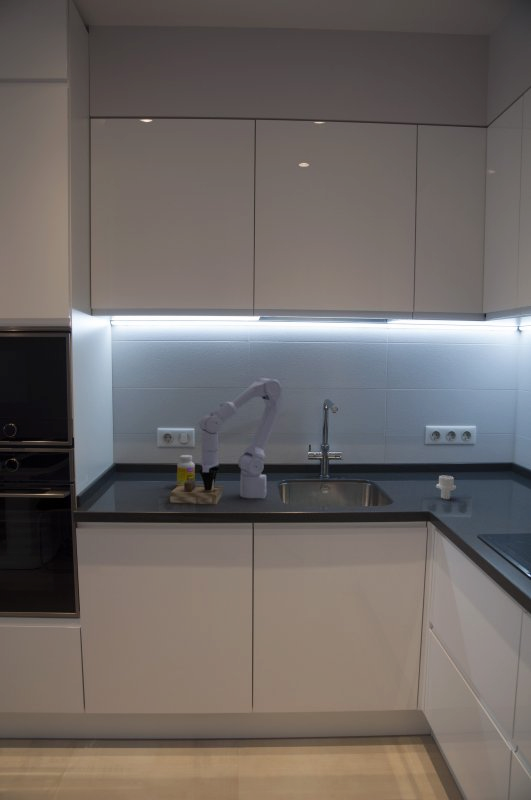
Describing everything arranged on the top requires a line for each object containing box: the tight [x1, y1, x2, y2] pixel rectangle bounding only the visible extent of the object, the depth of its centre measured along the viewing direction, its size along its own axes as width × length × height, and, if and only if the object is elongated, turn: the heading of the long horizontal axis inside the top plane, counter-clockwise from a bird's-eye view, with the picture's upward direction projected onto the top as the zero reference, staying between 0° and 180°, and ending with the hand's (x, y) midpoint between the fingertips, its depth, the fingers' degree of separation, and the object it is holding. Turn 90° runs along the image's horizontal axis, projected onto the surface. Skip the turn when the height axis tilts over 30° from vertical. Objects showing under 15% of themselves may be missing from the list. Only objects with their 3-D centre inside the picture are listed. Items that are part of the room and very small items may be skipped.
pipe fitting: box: [435, 475, 457, 500], centre depth 204 cm, size 6×7×8 cm
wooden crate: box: [169, 484, 223, 505], centre depth 192 cm, size 16×11×4 cm
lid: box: [171, 479, 221, 496], centre depth 192 cm, size 16×9×4 cm, turn 85°
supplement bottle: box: [176, 454, 196, 487], centre depth 209 cm, size 7×7×13 cm
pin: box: [205, 480, 215, 492], centre depth 191 cm, size 3×3×7 cm
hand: (209, 488), depth 191 cm, fingers open, 4 cm apart
